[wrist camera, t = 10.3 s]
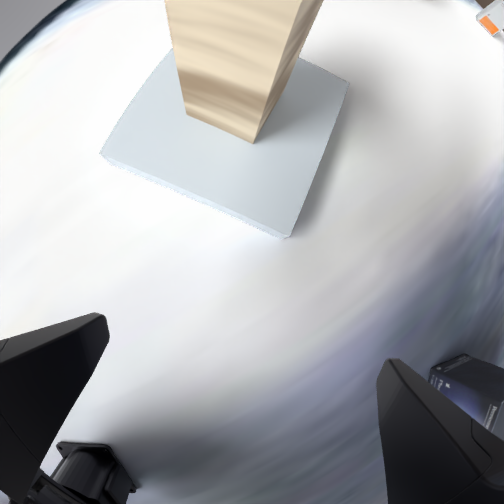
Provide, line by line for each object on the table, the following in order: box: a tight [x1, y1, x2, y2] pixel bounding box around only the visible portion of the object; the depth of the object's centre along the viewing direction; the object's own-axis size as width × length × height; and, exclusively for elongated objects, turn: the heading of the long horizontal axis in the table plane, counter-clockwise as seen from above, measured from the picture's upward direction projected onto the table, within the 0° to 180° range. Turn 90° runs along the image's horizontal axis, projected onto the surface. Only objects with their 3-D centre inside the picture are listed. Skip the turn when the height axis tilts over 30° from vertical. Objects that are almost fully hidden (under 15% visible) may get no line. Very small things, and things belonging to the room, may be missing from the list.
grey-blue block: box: [99, 48, 350, 239], centre depth 19 cm, size 14×14×3 cm
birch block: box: [165, 0, 323, 144], centre depth 11 cm, size 5×5×12 cm
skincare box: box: [476, 0, 504, 36], centre depth 23 cm, size 6×4×12 cm
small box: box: [429, 354, 504, 441], centre depth 17 cm, size 11×6×10 cm, turn 3°
